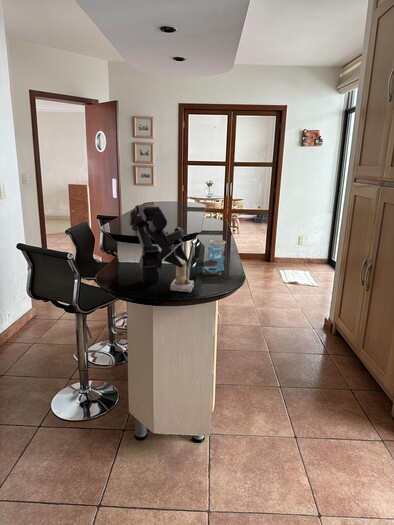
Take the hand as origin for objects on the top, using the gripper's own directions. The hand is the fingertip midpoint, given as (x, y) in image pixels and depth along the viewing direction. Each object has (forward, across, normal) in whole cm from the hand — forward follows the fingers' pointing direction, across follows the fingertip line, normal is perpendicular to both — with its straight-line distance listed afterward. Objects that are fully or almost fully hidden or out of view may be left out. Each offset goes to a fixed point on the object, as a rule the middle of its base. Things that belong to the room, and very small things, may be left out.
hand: (184, 263), depth 149 cm
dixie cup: (+12, +46, +3) cm, 48 cm away
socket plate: (+6, 0, +9) cm, 11 cm away
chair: (+14, +28, +2) cm, 31 cm away
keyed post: (+6, 0, +9) cm, 11 cm away
